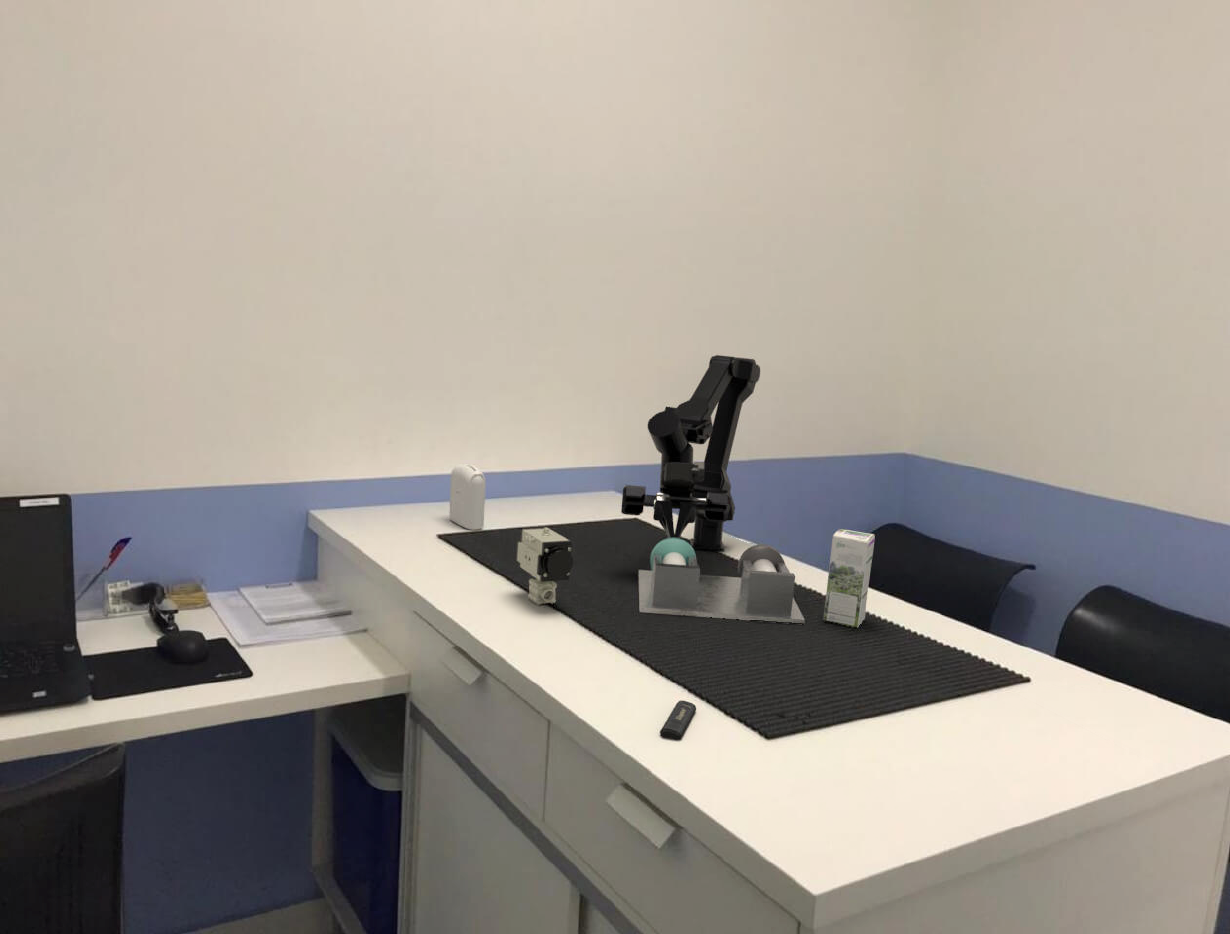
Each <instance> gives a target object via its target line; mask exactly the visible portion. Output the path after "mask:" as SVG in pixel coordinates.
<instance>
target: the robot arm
mask: <svg viewBox="0 0 1230 934" xmlns="http://www.w3.org/2000/svg"><path fill="white" fill-rule="evenodd" d="M760 377H761V366H760V365H758V364H757V362H756V360H755V359H754V358H746V357H739V356H738V357H736V356H731V355H730V356H728V355H719V354H716V355H713V356H711V357H710V359H709V363H708V368H707V369H706V371H705V373H704V375H703V376H702V378H701V380H700V382H699V383H698V385H697V387H696V389H695V390H694V392H693V394H692V395H691V397H690V399H688V400H686V401H684V402H681V403H680V404H678V405H677V407H675V406H674V407H673V406H672V407H671V406H666V407H665V409H664V410H663V411H660V412H658V413H656V414H655V413H654V415H653V416H652V417H651V418H650V419H649V420H648V422H647V430H648V433H649V435H650V437H651V439H652V441H653V444H654V447H655V448H656V451H658V452H659V453H660V454H661V458H660V459H661V460H660V476H659V477H660V480H659V492H656V493H655V494H646V493H647V492H646V490H647V487H646V486H644V485H643V486H641V485H632V484H631V485H630V484H626V485H625V486H624V487H622V499H621V508H620V509H621V511H620V512H621V514H623V515H625V516H626V515H627V516H640V515H641V514H643V513H644V507H647V508H653V515H652V516H653V520H654V521H658V523H659V524H660V525H661V527H662V528H663V530H664V532H665V534H666V537H667V538H680V539H681V537H682V534H683V532H684V530H685V529H686V528H687V526H688V524H694V527H693V538H690V539H689V542H690V543H689V544H690V545H691V546H692V548H693V549H694V550H696V549H697V550H710V551H711V550H712V551H725V546H724V544H723V543H724V542H723V541H722V540H723V531H724V522H727V521H729V522H730V521H734V515H735V510H736V506H735V503H734V500H733V497H732V494H731V489H732V484H731V482H730V478H729V476H728V473H727V471H728V470H727V469H728V466H729V462H730V457H731V453H732V448H733V446H734V445H733V444H734V440H735V437H736V436H735V435H736V431H737V427H738V423H739V419H740V415H741V410H742V406H743V403H744V402H745V401H746V400H747V399H748V398H749V397H751V395H753V393H754V391H755V388H756V384H757V383H758V382H759V381H760ZM715 409H716V410H715ZM714 411H716V412H715V415H714V418H713V419H714V420H712V414H713V413H714ZM707 441H708V444H707V448H706V453H705V457H704V461H694V447H693V445H692V444H694V445H704V444H706V443H707ZM673 509H675V510H679V511H678V515H677V521H676V526H674V525H675V524H674V516H673V515H674V514H673ZM674 527H675V528H674ZM674 529H675V530H674Z"/></svg>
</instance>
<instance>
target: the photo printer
mask: <svg viewBox="0 0 1230 934" xmlns="http://www.w3.org/2000/svg"><path fill="white" fill-rule="evenodd" d="M486 484H487V483H486V478H485V475H484V474H483V472H482V471H481V469H479V468H478V467H476V466H475V465H473V464H470V463H465V464H464V463H459V464H457V465H456V466H454V467H453V468H452V470H451V473H450V490H449V491H450V492H449V494H450V496H449V520H450V521H452V522H454V523H455V524H457V525H459V526H461V527H463V528H465V529H466V530H467V529H468V530H470V531H478V530H481V529H482V528H483V527H484V524H485V523H484V522H485V503H486Z"/></svg>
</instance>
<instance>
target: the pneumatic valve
mask: <svg viewBox="0 0 1230 934" xmlns="http://www.w3.org/2000/svg"><path fill="white" fill-rule="evenodd" d="M515 547H516V549H515V550H516V551H515V560H516V561H517V562H518V567H519V568H521V570H522V569H523V571H525V572H527V573H528V574H529V575H530V576H532V577H534V578H532V577H531V578H529V580H528V584H529V585H528V589H529V590H528V592H529V593H528V595H527V598H528V599H529V600H530V601H532V602H533V603H534V604H535V605H537V606H540V605H542V604H549V603H550V604H551V605H553V603H554V604H555V603H556V599H557V598H556V596H557V594H556V588H557V586H558V584H557V583H556V582H559V581H569V580H570V572H571V571H572V570H573V567H574V566H573V565H574V558H573V555H572V541H571V540H570V539H567V538H566V537H564V536H563V535H561V534H559V533H557V532H556V531H553V530H552V529H550V528H549V527H537V528H536V527H533V528H521V529H520V537H519V540H516V546H515Z"/></svg>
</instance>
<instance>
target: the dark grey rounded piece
mask: <svg viewBox="0 0 1230 934" xmlns="http://www.w3.org/2000/svg"><path fill="white" fill-rule="evenodd" d="M743 560H747V561H751V563H752V566H753V568H754V570H755V571H767V572H777V565H778V563H785V564H786V562H785V560H784V558H783V557H782V554H781V553H780V552H779V551H778V550H777V549H776V548H774V547H773V546H772V545H768V544H765V543H764V544H763V543H762V544H755V545H752V546H750V547H748V548H747V549H745V550H744V551H743V553H742V554H741V555H740V557H739V559H738V562H737V563H738V564H737V568H738V569H737V570H738V571H737V572H738V574H739V578H741V577H742V567H743Z"/></svg>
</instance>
